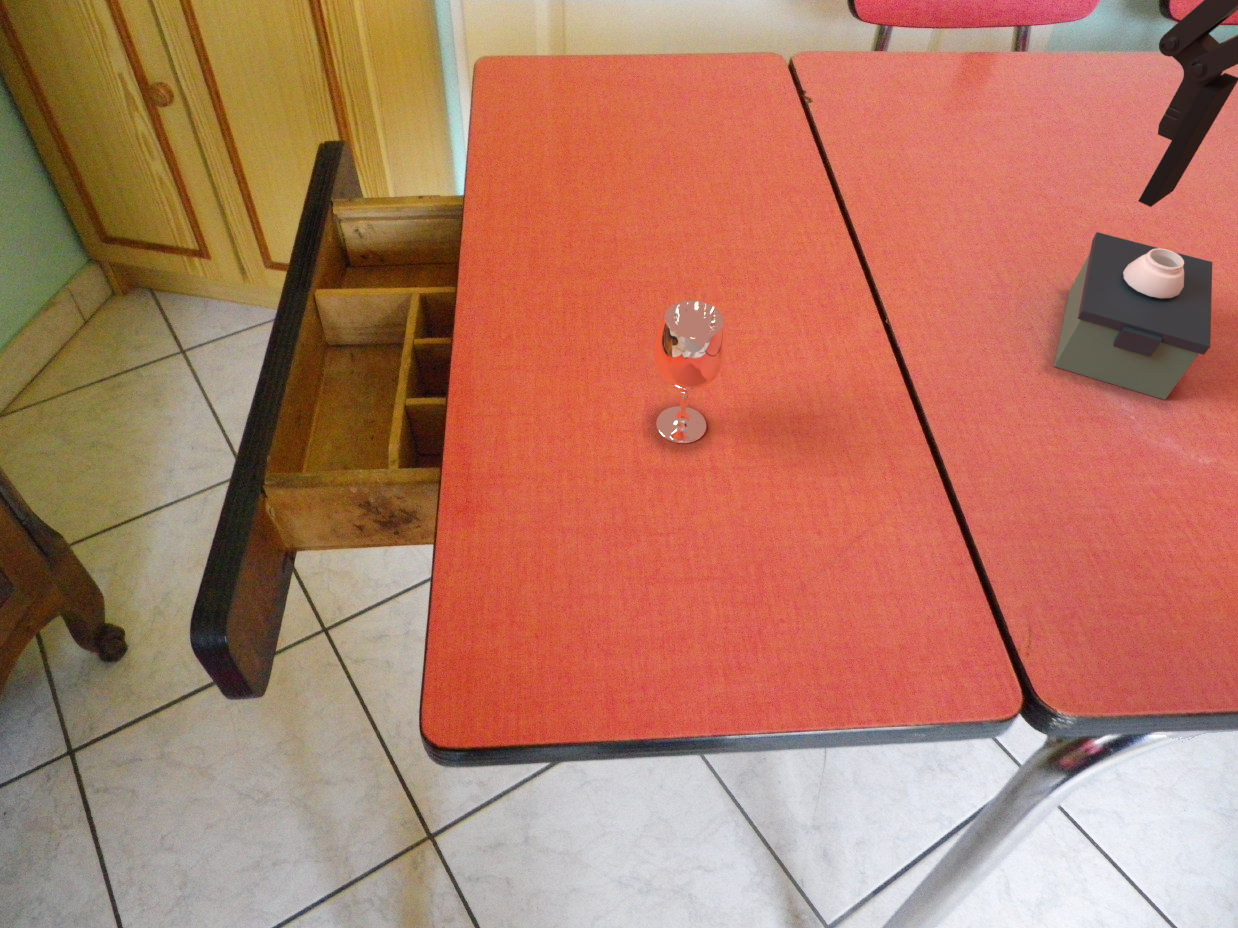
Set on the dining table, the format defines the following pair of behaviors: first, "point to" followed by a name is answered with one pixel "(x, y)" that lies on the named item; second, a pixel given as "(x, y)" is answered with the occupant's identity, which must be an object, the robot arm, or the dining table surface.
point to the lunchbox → (1133, 322)
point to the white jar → (1156, 273)
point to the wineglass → (688, 363)
